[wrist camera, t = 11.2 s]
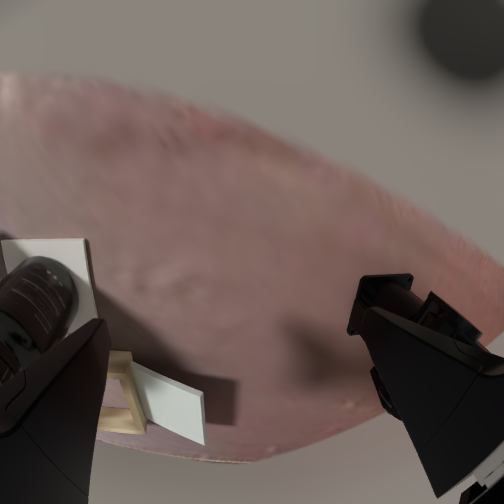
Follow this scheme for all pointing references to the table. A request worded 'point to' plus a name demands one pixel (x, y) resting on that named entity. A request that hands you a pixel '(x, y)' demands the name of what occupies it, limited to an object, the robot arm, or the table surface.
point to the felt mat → (65, 254)
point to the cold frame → (131, 417)
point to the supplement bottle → (34, 312)
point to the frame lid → (171, 403)
